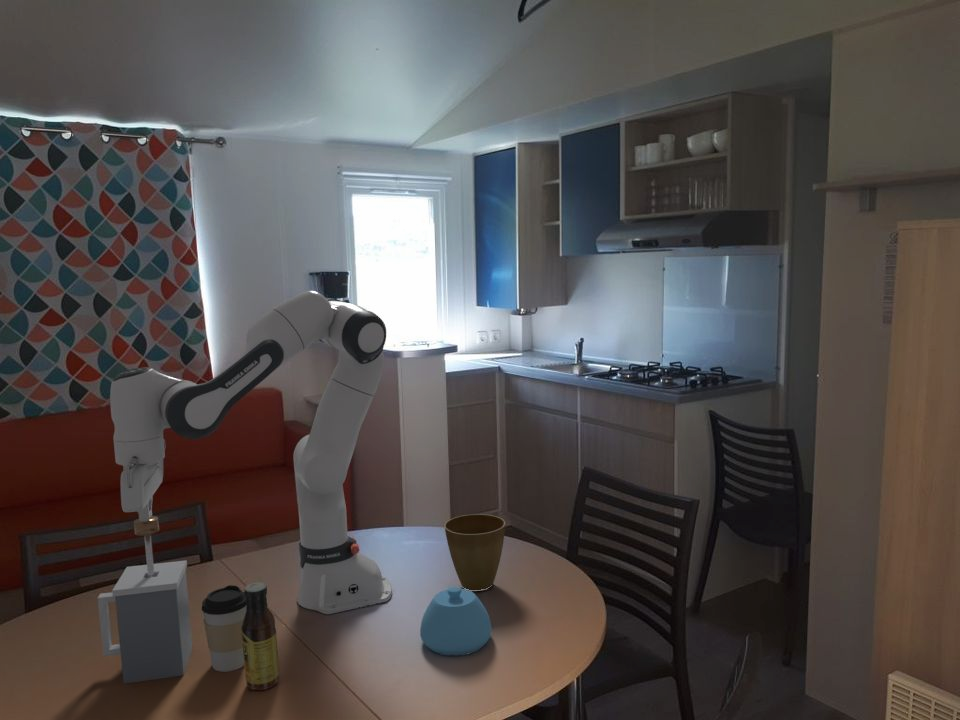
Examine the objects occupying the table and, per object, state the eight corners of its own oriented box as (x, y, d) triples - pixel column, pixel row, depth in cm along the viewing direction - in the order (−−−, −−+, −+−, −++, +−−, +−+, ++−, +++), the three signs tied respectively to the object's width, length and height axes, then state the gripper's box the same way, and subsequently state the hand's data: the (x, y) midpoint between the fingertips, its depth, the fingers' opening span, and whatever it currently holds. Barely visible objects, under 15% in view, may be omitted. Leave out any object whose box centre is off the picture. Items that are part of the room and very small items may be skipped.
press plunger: (169, 615, 152) (160, 515, 150) (165, 625, 148) (155, 522, 145) (146, 618, 151) (136, 517, 149) (141, 628, 147) (131, 524, 144)
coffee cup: (239, 676, 146) (233, 603, 144) (197, 672, 148) (191, 601, 146) (261, 652, 154) (256, 583, 153) (221, 649, 156) (216, 581, 154)
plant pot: (518, 580, 186) (516, 518, 184) (486, 604, 173) (484, 538, 171) (468, 569, 194) (466, 509, 192) (434, 591, 181) (432, 527, 179)
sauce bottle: (250, 675, 146) (242, 579, 143) (282, 673, 146) (275, 577, 144) (242, 694, 139) (234, 594, 137) (276, 692, 140) (269, 591, 137)
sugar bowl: (500, 628, 162) (499, 578, 160) (478, 664, 148) (476, 609, 146) (436, 620, 167) (434, 570, 165) (409, 653, 152) (406, 600, 151)
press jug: (194, 646, 158) (186, 560, 155) (185, 675, 147) (176, 583, 144) (114, 657, 154) (105, 569, 152) (98, 688, 143) (88, 593, 141)
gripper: (145, 463, 136) (152, 536, 138) (166, 438, 156) (172, 502, 157) (108, 466, 134) (115, 539, 136) (134, 441, 154) (140, 505, 156)
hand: (145, 519), depth 147 cm, fingers closed, pressing on press plunger
